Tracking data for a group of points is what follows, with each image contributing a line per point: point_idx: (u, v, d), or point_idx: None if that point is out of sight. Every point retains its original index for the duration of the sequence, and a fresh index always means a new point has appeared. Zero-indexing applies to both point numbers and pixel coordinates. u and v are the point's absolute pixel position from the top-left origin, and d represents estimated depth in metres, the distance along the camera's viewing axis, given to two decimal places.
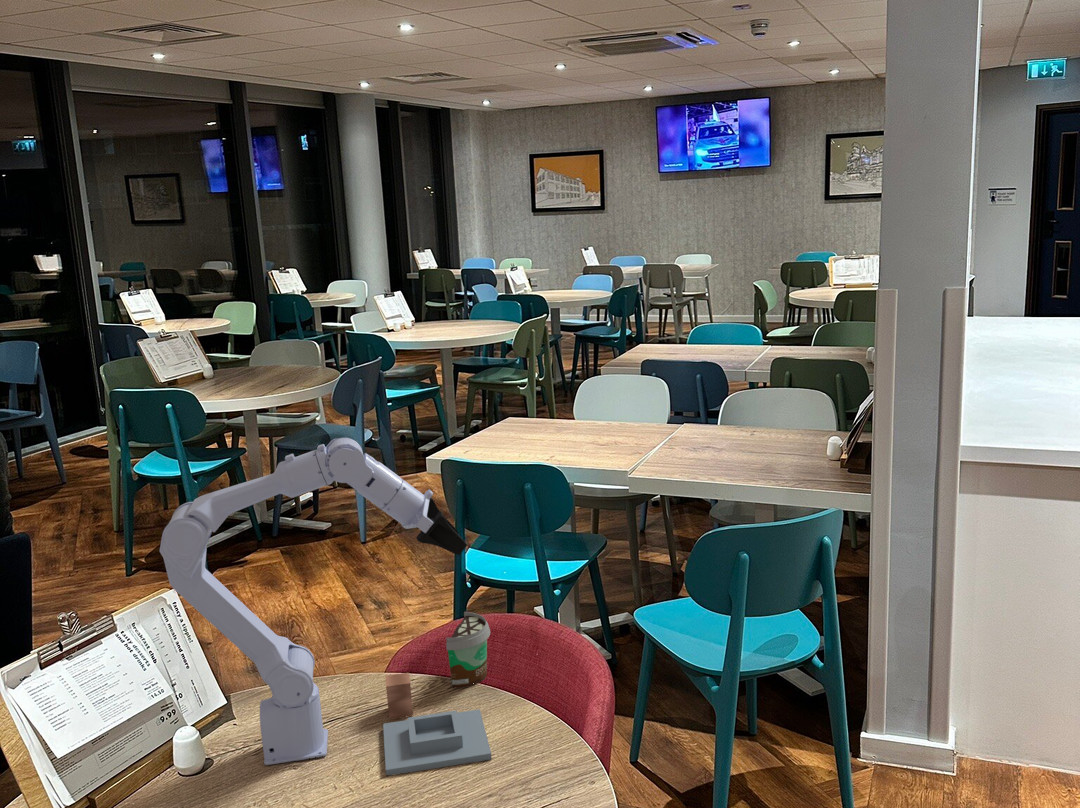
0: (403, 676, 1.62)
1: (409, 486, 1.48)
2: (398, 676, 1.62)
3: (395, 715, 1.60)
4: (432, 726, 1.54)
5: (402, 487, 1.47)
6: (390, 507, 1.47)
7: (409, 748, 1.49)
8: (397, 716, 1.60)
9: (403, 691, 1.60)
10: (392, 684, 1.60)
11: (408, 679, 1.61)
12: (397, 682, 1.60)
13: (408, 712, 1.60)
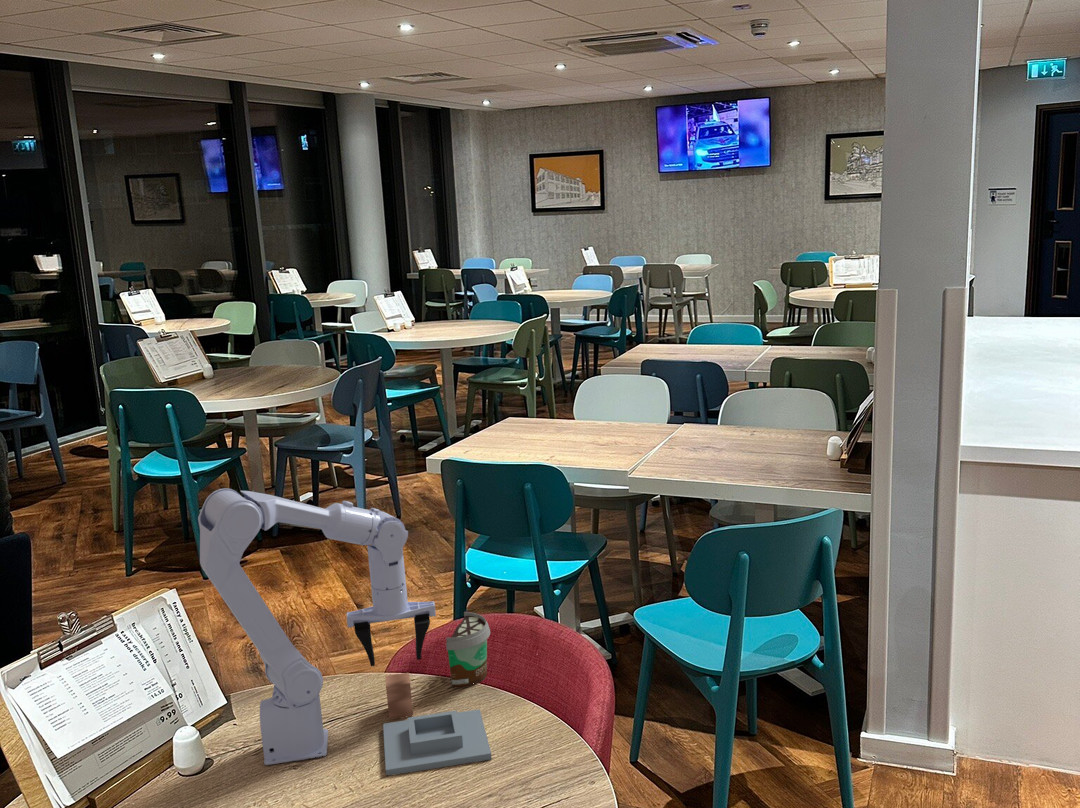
0: (403, 676, 1.62)
1: None
2: (398, 676, 1.62)
3: (395, 715, 1.60)
4: (432, 726, 1.54)
5: None
6: (403, 589, 1.57)
7: (409, 748, 1.49)
8: (397, 716, 1.60)
9: (403, 692, 1.60)
10: (392, 684, 1.60)
11: (408, 680, 1.61)
12: (397, 682, 1.60)
13: (408, 712, 1.60)
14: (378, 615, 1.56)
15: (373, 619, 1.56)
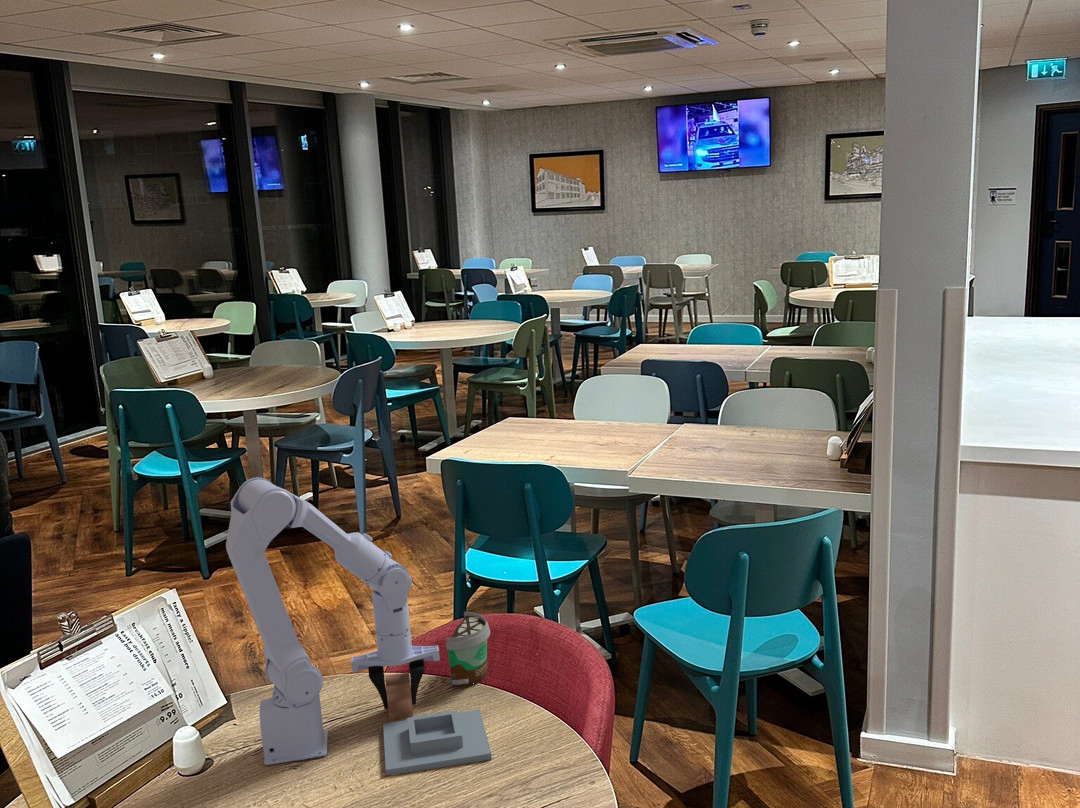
0: (403, 676, 1.62)
1: None
2: (398, 676, 1.62)
3: (395, 715, 1.60)
4: (432, 726, 1.54)
5: None
6: (408, 634, 1.59)
7: (409, 748, 1.49)
8: (397, 716, 1.60)
9: (403, 691, 1.60)
10: (392, 683, 1.60)
11: (408, 679, 1.61)
12: (397, 682, 1.60)
13: (408, 712, 1.60)
14: (382, 660, 1.58)
15: (378, 664, 1.58)
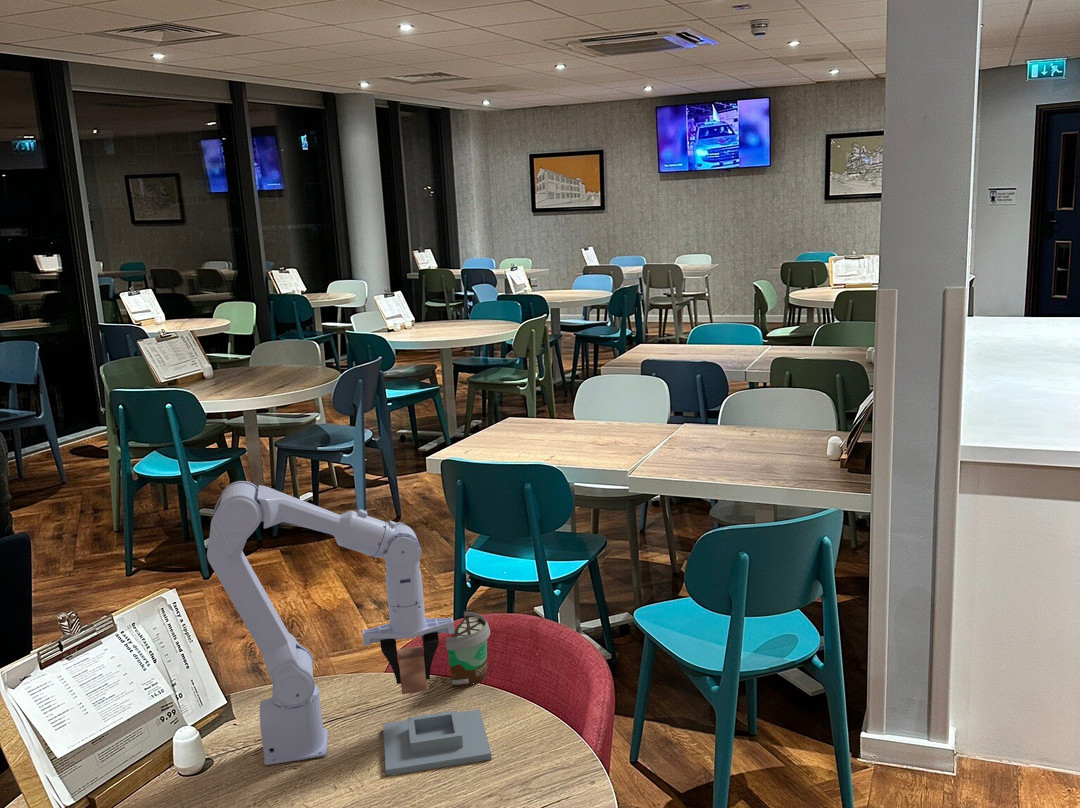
0: (416, 649, 1.56)
1: None
2: (411, 650, 1.56)
3: (408, 690, 1.54)
4: (432, 726, 1.54)
5: None
6: (421, 605, 1.52)
7: (409, 748, 1.49)
8: (410, 691, 1.54)
9: (417, 665, 1.53)
10: (405, 657, 1.53)
11: (421, 653, 1.54)
12: (411, 655, 1.54)
13: (422, 686, 1.54)
14: (395, 633, 1.51)
15: (390, 637, 1.51)
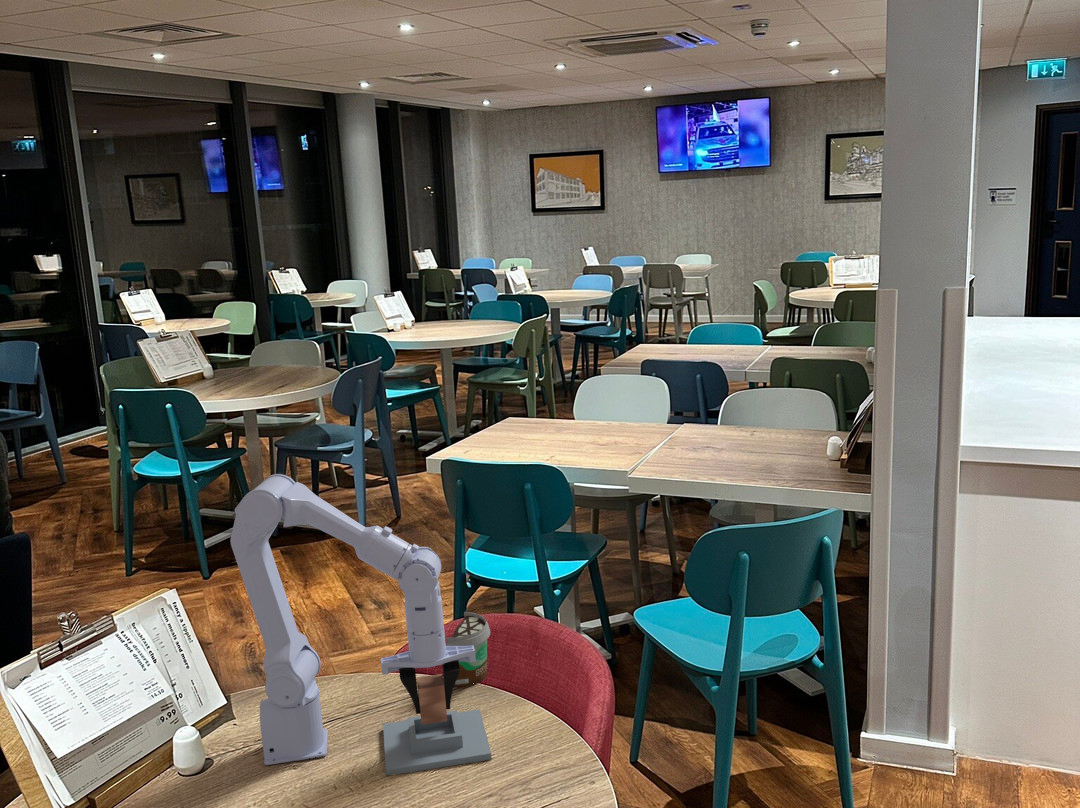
0: (436, 678, 1.51)
1: None
2: (431, 678, 1.51)
3: (428, 720, 1.49)
4: (432, 726, 1.54)
5: None
6: (442, 633, 1.47)
7: (409, 748, 1.49)
8: (430, 721, 1.49)
9: (437, 694, 1.48)
10: (425, 686, 1.48)
11: (441, 681, 1.49)
12: (430, 684, 1.49)
13: (442, 716, 1.49)
14: (415, 662, 1.46)
15: (409, 666, 1.46)
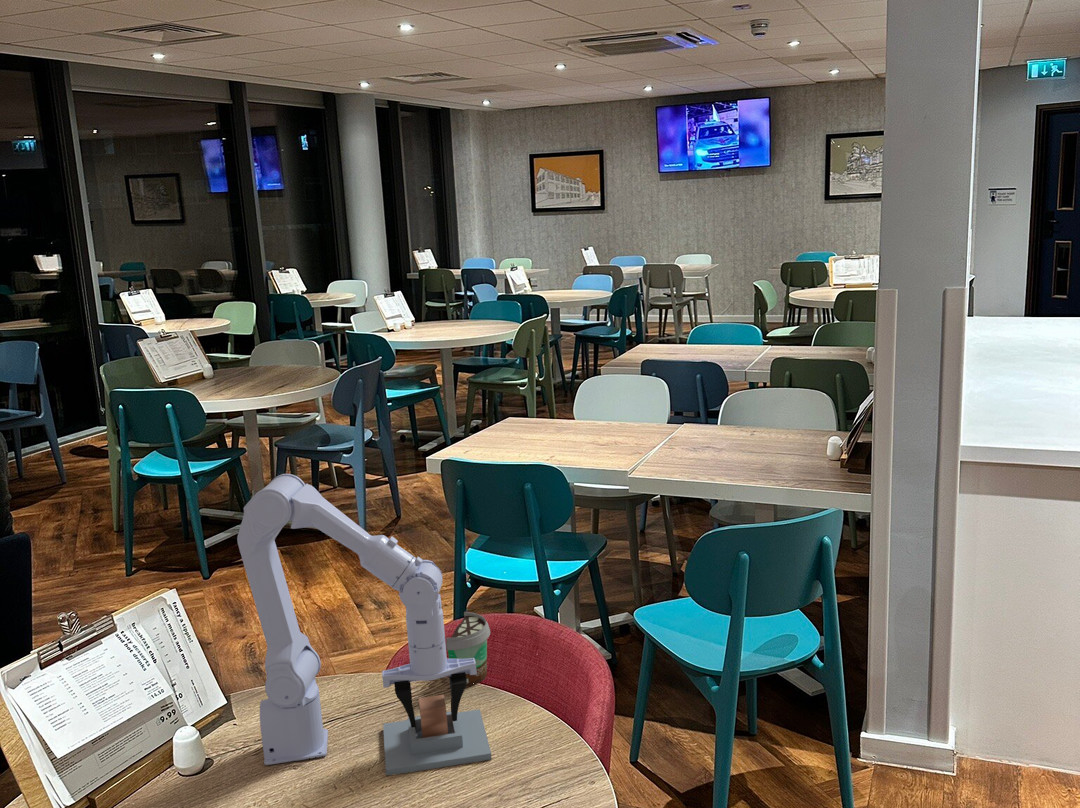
0: (438, 699, 1.51)
1: None
2: (433, 699, 1.51)
3: None
4: None
5: None
6: (443, 646, 1.47)
7: (409, 748, 1.49)
8: None
9: (438, 716, 1.49)
10: (427, 707, 1.49)
11: (443, 702, 1.50)
12: (432, 705, 1.49)
13: None
14: (416, 675, 1.47)
15: (411, 679, 1.47)
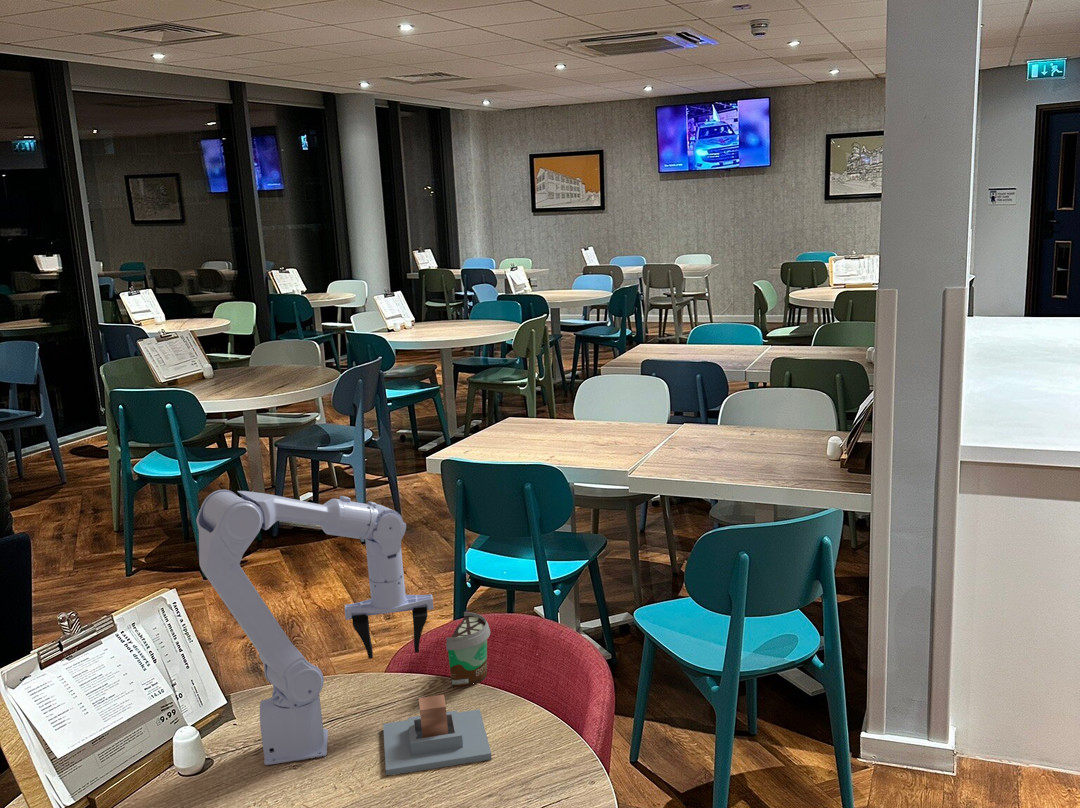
0: (438, 699, 1.51)
1: None
2: (433, 699, 1.51)
3: None
4: None
5: None
6: (401, 582, 1.57)
7: (409, 748, 1.49)
8: None
9: (438, 716, 1.49)
10: (427, 707, 1.49)
11: (443, 702, 1.50)
12: (432, 705, 1.49)
13: None
14: (376, 608, 1.57)
15: (371, 612, 1.57)
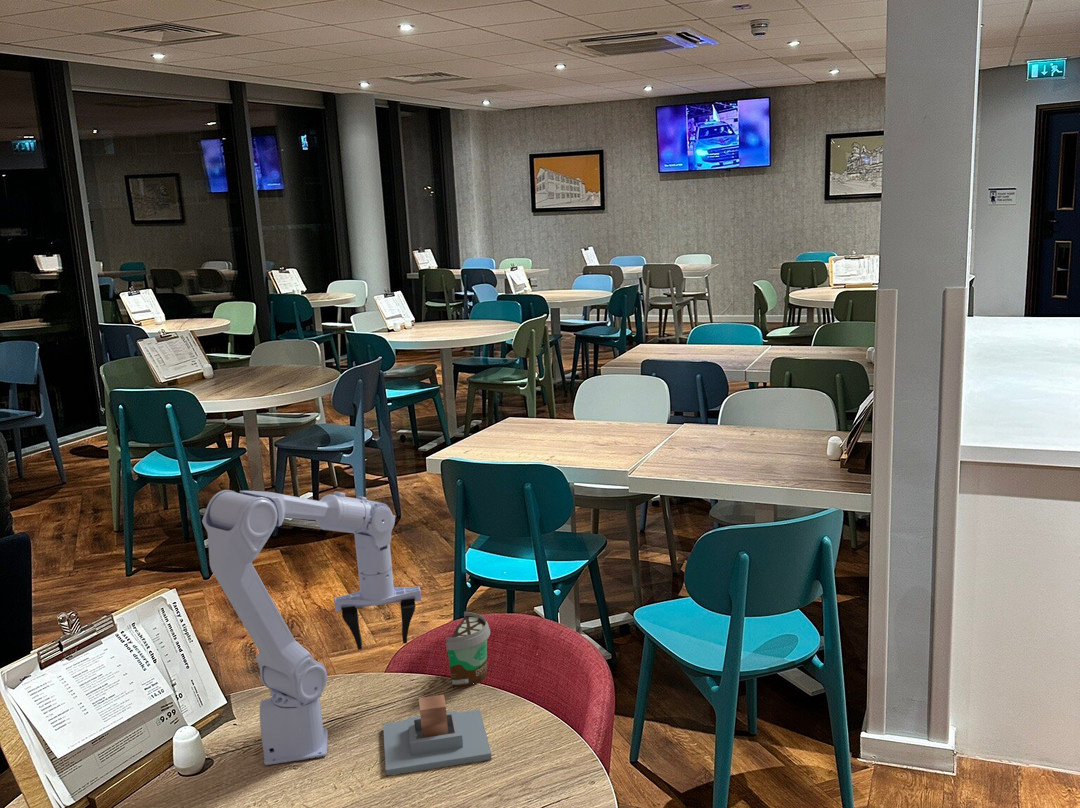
0: (438, 699, 1.51)
1: None
2: (433, 699, 1.51)
3: None
4: None
5: None
6: (389, 574, 1.61)
7: (409, 748, 1.49)
8: None
9: (438, 716, 1.49)
10: (427, 707, 1.49)
11: (443, 702, 1.50)
12: (432, 705, 1.49)
13: None
14: (365, 599, 1.61)
15: (360, 603, 1.61)
